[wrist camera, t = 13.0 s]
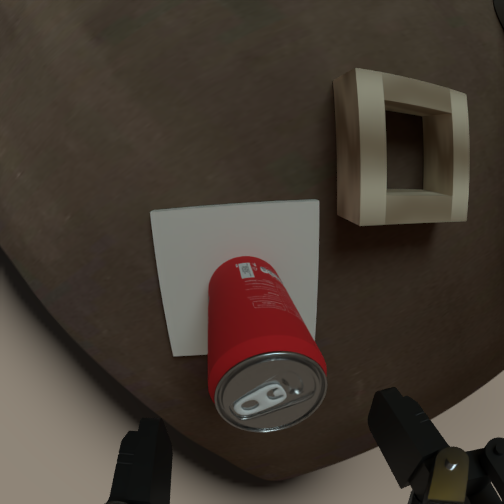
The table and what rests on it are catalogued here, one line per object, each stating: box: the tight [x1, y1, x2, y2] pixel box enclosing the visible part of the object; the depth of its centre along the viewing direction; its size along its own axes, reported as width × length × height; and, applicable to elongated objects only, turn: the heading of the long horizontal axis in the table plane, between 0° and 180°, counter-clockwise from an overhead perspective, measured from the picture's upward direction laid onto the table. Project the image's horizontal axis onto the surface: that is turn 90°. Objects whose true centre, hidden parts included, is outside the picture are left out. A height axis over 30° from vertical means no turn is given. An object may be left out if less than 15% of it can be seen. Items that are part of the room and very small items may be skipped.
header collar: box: [333, 68, 470, 226], centre depth 20 cm, size 10×10×4 cm
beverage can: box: [208, 256, 327, 433], centre depth 17 cm, size 5×5×12 cm
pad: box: [150, 199, 319, 356], centre depth 23 cm, size 12×12×1 cm
